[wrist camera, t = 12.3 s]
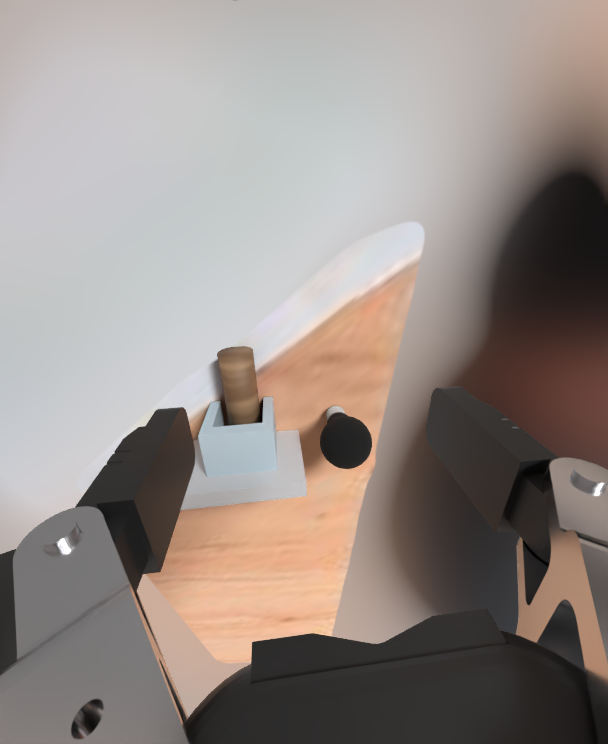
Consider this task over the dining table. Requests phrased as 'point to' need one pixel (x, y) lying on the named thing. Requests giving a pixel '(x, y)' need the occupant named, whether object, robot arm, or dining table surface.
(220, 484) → the base plate
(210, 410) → the sleeve block
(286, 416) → the dining table surface
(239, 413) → the dowel
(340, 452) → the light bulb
